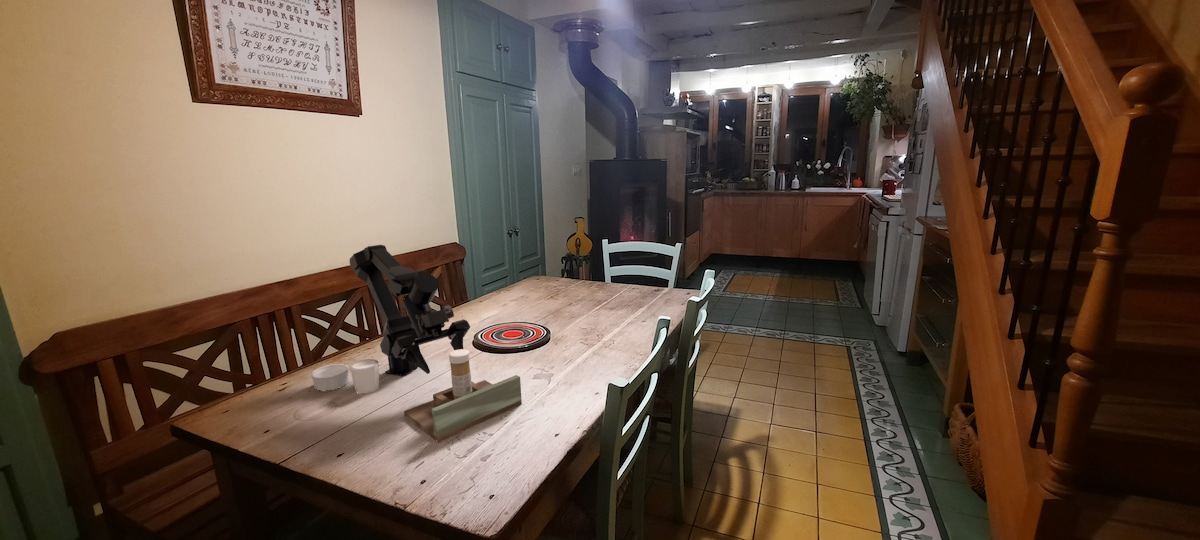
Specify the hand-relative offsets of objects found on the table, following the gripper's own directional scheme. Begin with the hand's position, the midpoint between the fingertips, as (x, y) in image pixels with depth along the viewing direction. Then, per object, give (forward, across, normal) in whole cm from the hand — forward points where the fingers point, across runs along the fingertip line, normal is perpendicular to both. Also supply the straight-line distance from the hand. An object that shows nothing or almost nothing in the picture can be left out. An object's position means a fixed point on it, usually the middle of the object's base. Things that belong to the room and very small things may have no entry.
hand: (446, 366), depth 119 cm
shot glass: (-9, -11, +22) cm, 27 cm away
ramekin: (-16, -17, +29) cm, 37 cm away
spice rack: (+11, 0, +2) cm, 11 cm away
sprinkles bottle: (+10, 0, +1) cm, 10 cm away
